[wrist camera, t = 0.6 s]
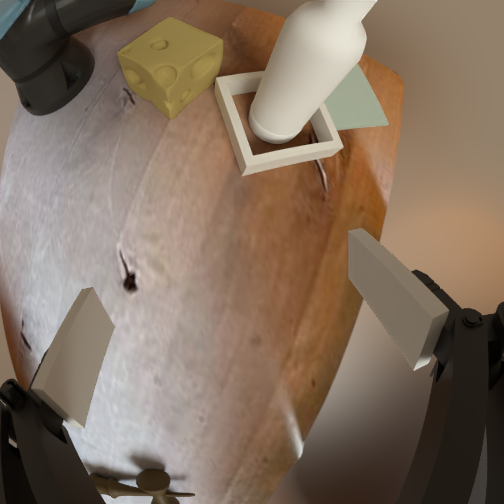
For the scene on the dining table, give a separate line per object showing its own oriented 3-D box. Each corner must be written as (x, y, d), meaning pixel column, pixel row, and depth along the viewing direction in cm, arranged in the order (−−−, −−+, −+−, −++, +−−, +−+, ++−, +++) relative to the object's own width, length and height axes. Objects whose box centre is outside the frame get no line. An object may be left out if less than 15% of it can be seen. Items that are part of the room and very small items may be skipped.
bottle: (273, 155, 37) (403, -6, 7) (236, 118, 36) (300, -67, 7) (308, 127, 38) (435, -7, 9) (273, 92, 37) (359, -61, 8)
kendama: (86, 458, 30) (190, 468, 33) (104, 488, 31) (199, 497, 34) (76, 477, 24) (189, 491, 27) (97, 507, 25) (200, 518, 28)
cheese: (171, 122, 34) (165, 83, 25) (125, 89, 33) (111, 51, 23) (220, 81, 36) (226, 39, 26) (173, 52, 34) (170, 11, 25)
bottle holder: (214, 92, 36) (215, 77, 32) (298, 81, 38) (306, 68, 34) (241, 176, 36) (246, 166, 32) (331, 156, 39) (343, 147, 35)
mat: (294, 65, 38) (295, 63, 37) (356, 65, 41) (358, 64, 40) (326, 131, 39) (327, 130, 38) (387, 125, 41) (389, 124, 40)
